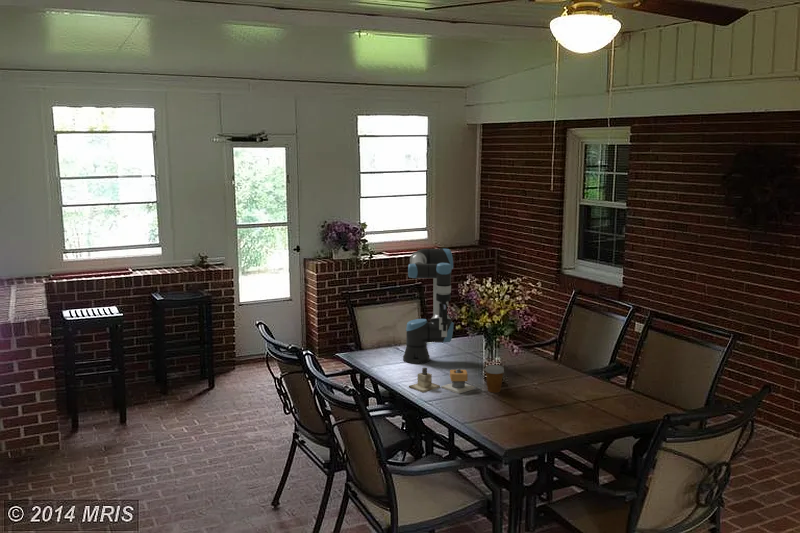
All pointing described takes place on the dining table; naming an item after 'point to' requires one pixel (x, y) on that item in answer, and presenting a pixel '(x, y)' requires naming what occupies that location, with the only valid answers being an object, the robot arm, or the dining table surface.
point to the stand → (424, 382)
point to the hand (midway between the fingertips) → (442, 333)
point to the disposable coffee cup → (494, 377)
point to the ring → (458, 375)
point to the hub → (458, 386)
